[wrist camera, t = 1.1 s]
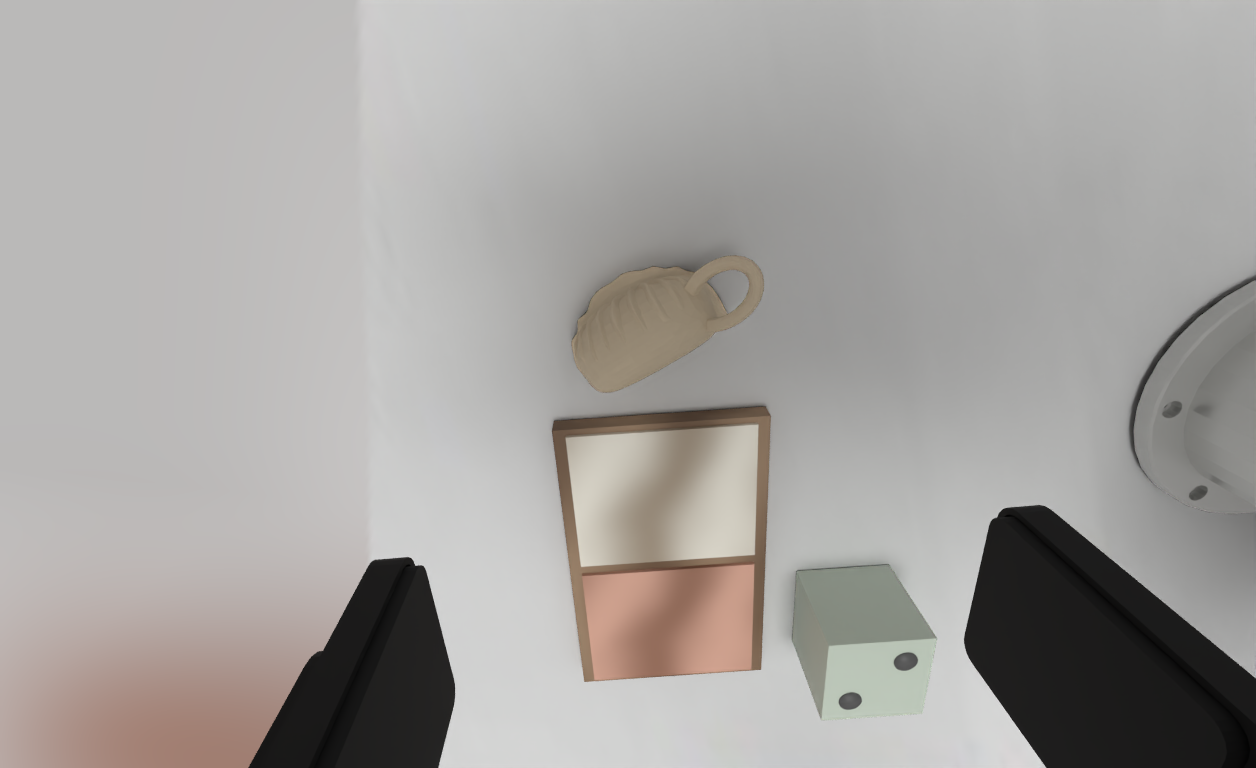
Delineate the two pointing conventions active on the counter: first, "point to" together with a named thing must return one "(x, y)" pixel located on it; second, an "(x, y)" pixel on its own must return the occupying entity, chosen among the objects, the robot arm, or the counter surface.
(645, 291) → the decorative ornament
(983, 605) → the robot arm
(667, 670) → the brown framed panel
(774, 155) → the counter surface
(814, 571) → the die
